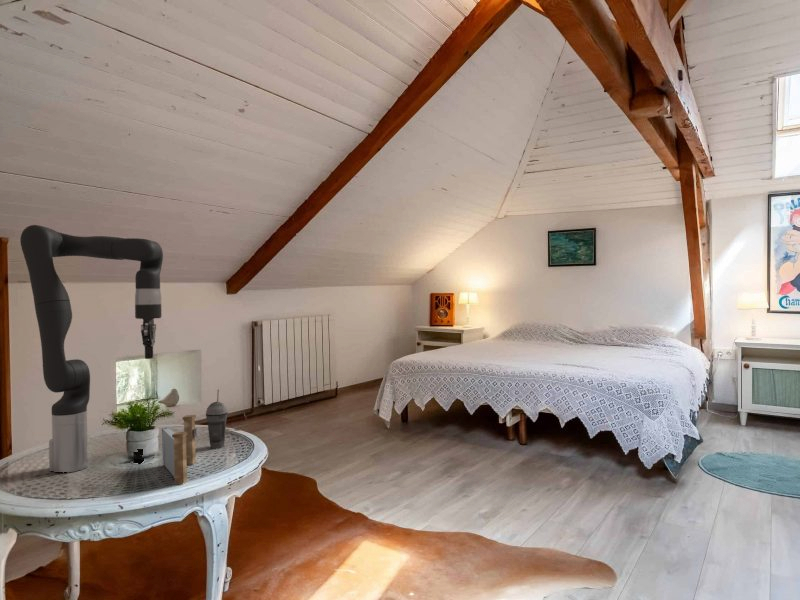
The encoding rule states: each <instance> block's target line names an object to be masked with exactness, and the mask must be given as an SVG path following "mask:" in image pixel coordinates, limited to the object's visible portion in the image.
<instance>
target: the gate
mask: <svg viewBox="0 0 800 600" xmlns="http://www.w3.org/2000/svg"><path fill="white" fill-rule="evenodd" d="M174 433H176V432H175V431H174V430H173V429H172V428H170V427H169V426H167V427H161V441H162V443H161V444H162V445H161V447H162V448H161V449H162V450H161V451H162V453H161V454H162V465H163V466H165V467H166V469H167V470H168V471H169V473H170V474H171V475H172V477H174V480H175V469H174V437H173V438H172V434H174Z"/></svg>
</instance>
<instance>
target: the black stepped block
mask: <svg viewBox="0 0 800 600" xmlns="http://www.w3.org/2000/svg"><path fill="white" fill-rule="evenodd" d="M137 450H138V452H134V451H133V457H132V458H133V461H132V460H130V461H129V462H133V463H138V464H137V465H142V464H143V463H142V462H143V461H144V458H142V455H143V449H137ZM141 463H142V464H141Z"/></svg>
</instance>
